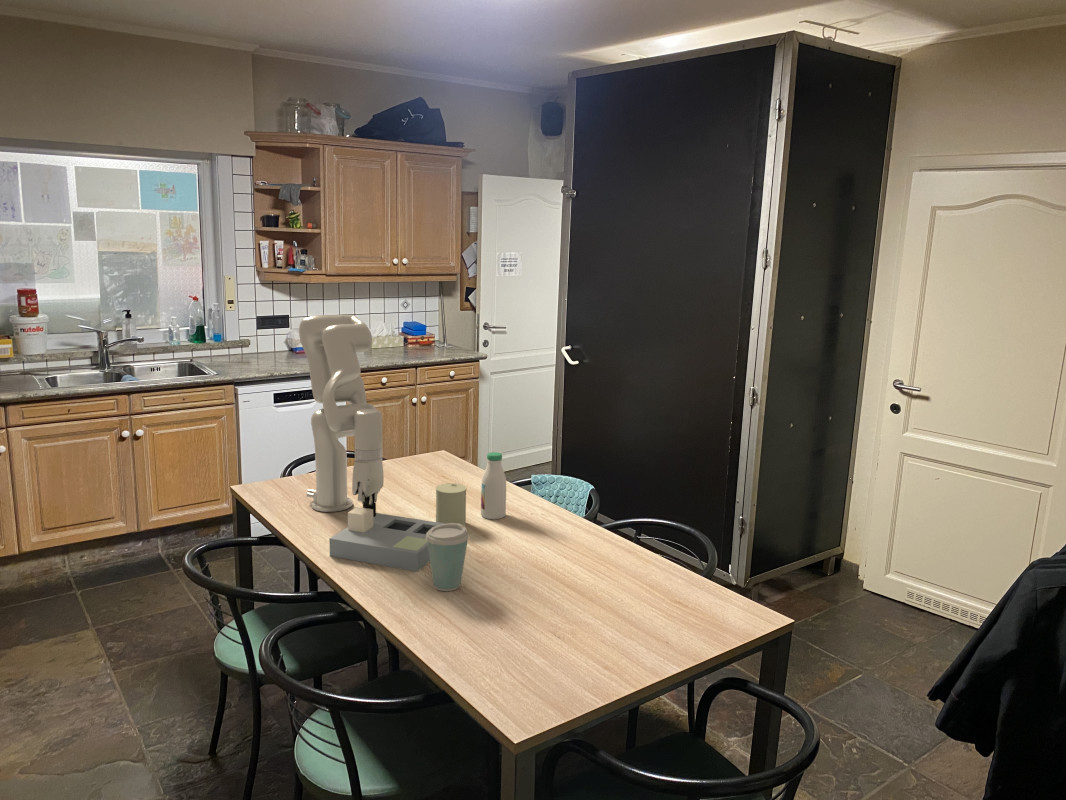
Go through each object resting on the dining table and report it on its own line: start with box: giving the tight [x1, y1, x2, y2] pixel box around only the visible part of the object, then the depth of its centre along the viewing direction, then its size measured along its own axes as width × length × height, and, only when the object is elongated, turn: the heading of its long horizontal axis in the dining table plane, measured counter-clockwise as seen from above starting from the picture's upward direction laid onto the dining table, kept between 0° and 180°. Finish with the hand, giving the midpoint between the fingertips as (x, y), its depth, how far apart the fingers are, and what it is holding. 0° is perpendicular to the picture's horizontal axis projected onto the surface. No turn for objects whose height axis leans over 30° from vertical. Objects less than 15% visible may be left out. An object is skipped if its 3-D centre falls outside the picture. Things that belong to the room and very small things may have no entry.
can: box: [435, 482, 467, 527], centre depth 232 cm, size 9×9×12 cm
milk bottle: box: [480, 451, 507, 520], centre depth 240 cm, size 8×8×20 cm
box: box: [328, 512, 444, 572], centre depth 214 cm, size 26×22×5 cm
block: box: [347, 506, 373, 532], centre depth 214 cm, size 5×5×5 cm
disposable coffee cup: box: [426, 523, 470, 592], centre depth 191 cm, size 11×11×15 cm
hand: (369, 516), depth 219 cm, fingers closed
